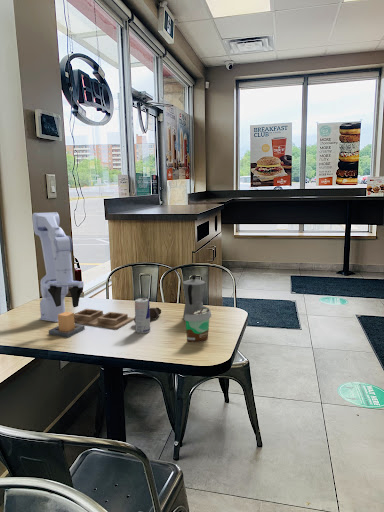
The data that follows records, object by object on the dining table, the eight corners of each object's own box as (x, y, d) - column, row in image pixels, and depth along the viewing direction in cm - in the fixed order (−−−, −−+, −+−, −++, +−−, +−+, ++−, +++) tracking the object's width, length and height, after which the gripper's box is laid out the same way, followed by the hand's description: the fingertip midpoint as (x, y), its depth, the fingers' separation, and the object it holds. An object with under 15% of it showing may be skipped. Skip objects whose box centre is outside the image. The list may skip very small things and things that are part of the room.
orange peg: (59, 333, 142) (57, 314, 141) (66, 329, 145) (65, 311, 144) (67, 334, 140) (66, 316, 139) (75, 330, 144) (73, 312, 143)
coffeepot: (186, 312, 165) (185, 271, 162) (208, 313, 163) (208, 272, 160) (177, 324, 150) (177, 279, 147) (201, 325, 148) (201, 280, 145)
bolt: (160, 319, 162) (141, 330, 148) (151, 312, 163) (131, 322, 150) (166, 308, 160) (147, 318, 146) (156, 301, 161) (137, 310, 148)
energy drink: (152, 329, 144) (151, 298, 142) (146, 334, 139) (145, 302, 137) (139, 328, 146) (138, 297, 144) (133, 332, 141) (131, 301, 139)
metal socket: (48, 334, 141) (48, 330, 140) (65, 326, 149) (65, 322, 148) (68, 337, 137) (68, 333, 137) (84, 329, 145) (84, 325, 145)
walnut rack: (66, 321, 154) (66, 315, 154) (85, 313, 165) (85, 307, 165) (117, 329, 145) (116, 322, 144) (134, 319, 156) (133, 313, 155)
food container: (200, 346, 128) (199, 317, 126) (184, 342, 131) (184, 314, 130) (217, 334, 138) (217, 308, 137) (202, 331, 142) (202, 305, 140)
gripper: (40, 271, 139) (43, 308, 140) (73, 271, 134) (76, 309, 135) (53, 268, 145) (56, 303, 147) (85, 268, 140) (88, 305, 142)
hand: (67, 306), depth 141 cm, fingers open, 7 cm apart
